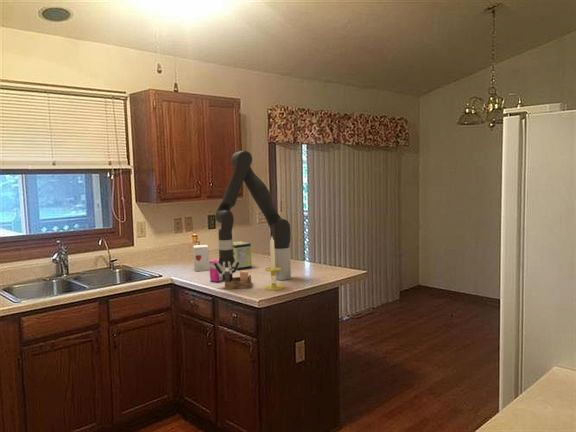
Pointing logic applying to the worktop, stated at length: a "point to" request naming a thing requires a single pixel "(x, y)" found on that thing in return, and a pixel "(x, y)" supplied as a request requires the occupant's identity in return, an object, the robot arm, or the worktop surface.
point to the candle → (273, 269)
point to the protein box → (242, 255)
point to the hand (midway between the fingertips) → (227, 280)
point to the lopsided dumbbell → (242, 276)
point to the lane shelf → (238, 283)
